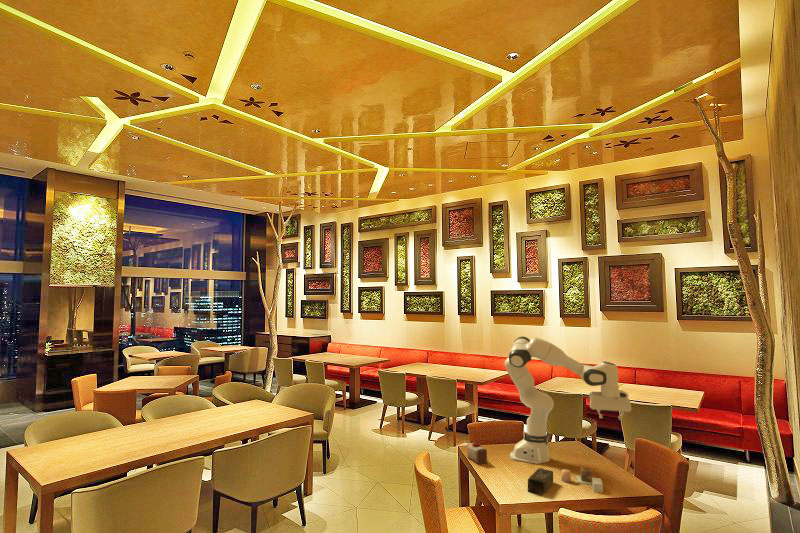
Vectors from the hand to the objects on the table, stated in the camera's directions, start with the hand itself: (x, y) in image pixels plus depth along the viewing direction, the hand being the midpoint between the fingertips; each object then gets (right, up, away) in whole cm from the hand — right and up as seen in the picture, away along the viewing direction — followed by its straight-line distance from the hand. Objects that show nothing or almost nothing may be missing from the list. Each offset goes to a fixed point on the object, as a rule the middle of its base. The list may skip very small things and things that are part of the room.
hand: (610, 418), depth 242 cm
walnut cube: (-17, -28, -11) cm, 34 cm away
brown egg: (-28, -28, -11) cm, 41 cm away
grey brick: (-16, -28, -21) cm, 38 cm away
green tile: (-17, -28, -11) cm, 35 cm away
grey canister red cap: (-69, -30, +18) cm, 77 cm away
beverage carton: (-43, -28, -19) cm, 55 cm away
